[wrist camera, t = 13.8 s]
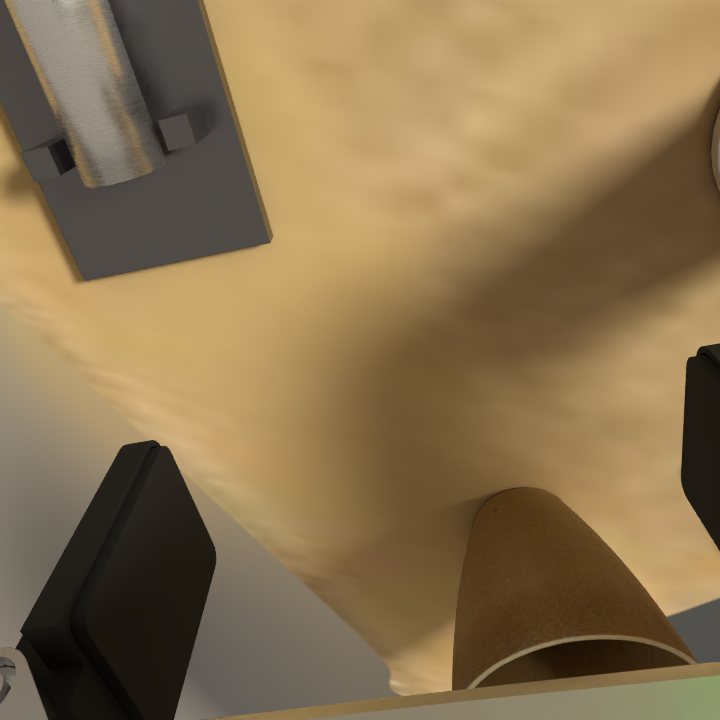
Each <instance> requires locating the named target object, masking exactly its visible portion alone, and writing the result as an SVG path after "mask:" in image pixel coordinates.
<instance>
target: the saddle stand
mask: <svg viewBox="0 0 720 720" xmlns="http://www.w3.org/2000/svg"><path fill="white" fill-rule="evenodd" d="M108 2H109V5H110V8H111V10H112V13H113V16H114V19H115V22H116V24H117V27H118V30H119V33H120V35H121V38H122V41H123V44H124V46H125V49H126V52H127V55H128V57H129V60H130V63H131V66H132V68H133V71H134V74H135V77H136V79H137V82H138V85H139V88H140V91H141V93H142V96H143V99H144V102H145V104H146V107H147V110H148V113H149V115H150V118H151V121H152V124H153V126H154V129H155V132H156V135H157V137H158V140H159V143H160V146H161V148H162V151H163V154H164V157H165V159H166V162H167V163H166V164H165V165H164V166H163V167H161V168H159V169H157V170H155V171H153V172H151V173H148V174H145V175H143V176H140V177H137V178H134V179H131V180H127V181H124V182H120V183H116V184H112V185H107V186H102V187H95V188H87V187H85V186H84V183H83V181H82V179H81V176H80V174H79V172H78V169H77V167H76V165H75V163H74V160H73V158H72V156H71V153H70V151H69V149H68V146H67V144H66V142H65V140H64V137H63V135H62V133H61V130H60V128H59V126H58V123H57V121H56V119H55V116H54V114H53V112H52V110H51V107H50V105H49V103H48V100H47V98H46V96H45V93H44V91H43V89H42V87H41V84H40V82H39V80H38V77H37V75H36V73H35V70H34V68H33V66H32V63H31V61H30V59H29V57H28V54H27V52H26V50H25V47H24V45H23V43H22V40H21V38H20V36H19V34H18V31H17V29H16V27H15V24H14V22H13V20H12V17H11V15H10V13H9V10H8V8H7V6H6V4H5V1H4V0H0V102H1V104H2V106H3V108H4V110H5V112H6V114H7V116H8V119H9V121H10V123H11V125H12V127H13V129H14V131H15V133H16V136H17V138H18V140H19V142H20V144H21V146H22V148H23V150H24V152H22V153H21V155H22V157H23V159H24V161H25V163H26V165H27V168H28V170H29V172H30V174H31V176H32V178H33V180H34V182H35V181H38V182H39V185H40V187H41V189H42V191H43V193H44V195H45V197H46V199H47V202H48V204H49V206H50V208H51V210H52V212H53V214H54V217H55V219H56V221H57V223H58V225H59V227H60V229H61V231H62V234H63V236H64V238H65V240H66V242H67V244H68V246H69V248H70V251H71V253H72V255H73V257H74V259H75V261H76V263H77V265H78V268H79V270H80V272H81V274H82V276H83V278H84V280H85V281H88V280H93V279H98V278H103V277H108V276H112V275H117V274H122V273H127V272H132V271H137V270H141V269H146V268H151V267H156V266H161V265H166V264H171V263H175V262H180V261H185V260H190V259H195V258H200V257H204V256H209V255H214V254H219V253H224V252H229V251H233V250H238V249H243V248H248V247H253V246H258V245H262V244H267V243H271V240H272V238H273V234H272V231H271V228H270V224H269V221H268V218H267V214H266V211H265V207H264V204H263V201H262V197H261V194H260V191H259V187H258V184H257V180H256V177H255V174H254V170H253V167H252V164H251V160H250V157H249V154H248V150H247V147H246V143H245V140H244V137H243V133H242V130H241V127H240V123H239V120H238V117H237V113H236V110H235V106H234V103H233V100H232V96H231V93H230V90H229V86H228V83H227V79H226V76H225V73H224V69H223V66H222V63H221V59H220V56H219V53H218V49H217V46H216V42H215V39H214V36H213V32H212V29H211V26H210V22H209V19H208V16H207V12H206V9H205V5H204V2H203V0H108Z"/></svg>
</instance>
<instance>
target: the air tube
mask: <svg viewBox="0 0 720 720" xmlns="http://www.w3.org/2000/svg"><path fill="white" fill-rule="evenodd" d="M4 1H5V4H6V6H7V8H8V10H9V13H10V15H11V17H12V20H13V22H14V24H15V27H16V29H17V31H18V34H19V36H20V38H21V40H22V43H23V45H24V47H25V50H26V52H27V54H28V57H29V59H30V61H31V63H32V66H33V68H34V70H35V73H36V75H37V77H38V80H39V82H40V84H41V87H42V89H43V91H44V93H45V96H46V98H47V100H48V103H49V105H50V107H51V110H52V112H53V114H54V116H55V119H56V121H57V123H58V126H59V128H60V130H61V133H62V135H63V137H64V140H65V142H66V144H67V146H68V149H69V151H70V153H71V156H72V158H73V160H74V163H75V165H76V167H77V169H78V172H79V174H80V176H81V179H82V181H83V183H84V186H85V187H87V188H95V187H102V186H107V185H112V184H116V183H120V182H124V181H127V180H131V179H134V178H137V177H140V176H143V175H145V174H148V173H151V172H153V171H155V170H157V169H159V168H161V167H163V166H164V165H165V164H166V163H167V162H166V159H165V157H164V154H163V151H162V148H161V146H160V143H159V140H158V137H157V135H156V132H155V129H154V126H153V124H152V121H151V118H150V115H149V113H148V110H147V107H146V104H145V102H144V99H143V96H142V93H141V91H140V88H139V85H138V82H137V79H136V77H135V74H134V71H133V68H132V66H131V63H130V60H129V57H128V55H127V52H126V49H125V46H124V44H123V41H122V38H121V35H120V33H119V30H118V27H117V24H116V22H115V19H114V16H113V13H112V10H111V8H110V5H109V2H108V0H4Z"/></svg>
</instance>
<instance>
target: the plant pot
mask: <svg viewBox="0 0 720 720" xmlns="http://www.w3.org/2000/svg"><path fill="white" fill-rule="evenodd" d="M694 664H699V663H698V662H697V660H696V659H695V657H694V656H693V655H692V653H691V652H690V650H689V649H688V648H687V646H686V645H685V643H684V642H683V640H682V639H681V637H680V636H679V634H678V633H677V632H676V630H675V629H674V627H673V626H672V625H671V623H670V622H669V620H668V619H667V618H666V616H665V615H664V613H663V612H662V611H661V609H660V608H659V606H658V605H657V604H656V602H655V601H654V600H653V598H652V597H651V596H650V595H649V593H648V592H647V591H646V589H645V588H644V587H643V586H642V584H641V583H640V582H639V581H638V579H637V578H636V577H635V576H634V574H633V573H632V572H631V571H630V570H629V569H628V567H627V566H626V565H625V564H624V563H623V562H622V560H621V559H620V558H619V557H618V556H617V555H616V554H615V553H614V551H613V550H612V549H611V548H610V547H609V546H608V545H607V544H606V543H605V542H604V541H603V540H602V539H601V538H600V537H599V535H598V534H597V533H596V532H595V531H594V530H593V529H592V528H591V527H590V526H588V525H587V524H586V523H585V522H584V521H583V520H582V519H581V518H580V517H579V516H578V515H577V514H576V513H575V512H573V511H572V510H571V509H570V508H569V507H568V506H567V505H566V504H564V503H563V502H562V501H561V500H560V499H559V498H557V497H556V496H555V495H553V494H551V493H549V492H547V491H545V490H542V489H537V488H516V489H511V490H507V491H504V492H502V493H500V494H497V495H496V496H494V497H492V498H491V499H490V500H488V501H487V502H486V503H485V504H484V505H483V506H482V507H481V509H480V510H479V511H478V513H477V515H476V518H475V521H474V524H473V528H472V531H471V535H470V538H469V542H468V546H467V550H466V555H465V559H464V564H463V569H462V575H461V581H460V588H459V595H458V603H457V611H456V622H455V634H454V648H453V671H452V691H454V690H463V689H472V688H481V687H490V686H499V685H508V684H517V683H526V682H535V681H544V680H554V679H563V678H572V677H582V676H591V675H600V674H610V673H619V672H628V671H638V670H647V669H656V668H666V667H675V666H684V665H694Z"/></svg>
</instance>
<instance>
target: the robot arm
mask: <svg viewBox="0 0 720 720" xmlns="http://www.w3.org/2000/svg"><path fill="white" fill-rule="evenodd" d="M711 156H712V167H713V174H714V177H715V180H716V183H717V186H718V189H719V191H720V110H719V113H718V116H717V120H716V123H715V127H714V130H713V139H712V148H711ZM681 482H682V487H683V490H684V493H685V495H686V497H687V499H688V501H689V502H690V504H691V506H692V507H693V509H694V510H695V512H696V514H697V515H698V517H699V518H700V520H701V522H702V523H703V525H704V526H705V528H706V530H707V531H708V533H709V535H710V536H711V538H712V539H713V541H714V543H715V544H716V546H717V547H718V549H719V551H720V343H719V344H714V345H708V346H702V347H700V348H699V349H698V351H697V355H696V356H694V357H690V358H688V361H687V365H686V385H685V405H684V425H683V445H682V465H681ZM215 566H216V551H215V547H214V544H213V542H212V540H211V538H210V535H209V533H208V531H207V529H206V527H205V525H204V522H203V520H202V518H201V516H200V514H199V512H198V510H197V507H196V505H195V503H194V501H193V499H192V496H191V494H190V492H189V490H188V488H187V486H186V483H185V481H184V479H183V477H182V475H181V473H180V471H179V468H178V466H177V464H176V462H175V460H174V458H173V455H172V453H171V451H170V450H169V448H168V447H167V446H160V444H159V443H158V442H157V441H154V440H150V441H144V442H138V443H133V444H127V445H124V446H122V448H121V449H120V450H119V452H118V454H117V456H116V458H115V459H114V461H113V463H112V465H111V467H110V469H109V470H108V472H107V474H106V476H105V478H104V479H103V481H102V483H101V485H100V487H99V489H98V491H97V492H96V494H95V496H94V498H93V499H92V501H91V503H90V505H89V507H88V508H87V510H86V512H85V514H84V516H83V518H82V519H81V521H80V523H79V525H78V527H77V528H76V530H75V532H74V534H73V536H72V538H71V539H70V541H69V543H68V545H67V547H66V549H65V550H64V552H63V554H62V556H61V558H60V559H59V561H58V563H57V565H56V567H55V569H54V570H53V572H52V574H51V576H50V578H49V579H48V581H47V583H46V585H45V587H44V588H43V590H42V592H41V594H40V596H39V598H38V599H37V601H36V603H35V605H34V607H33V608H32V610H31V612H30V614H29V616H28V618H27V619H26V621H25V623H24V625H23V627H22V629H21V631H20V632H21V633H22V634H23V636H22V637H21V639H20V641H19V643H18V645H17V647H16V648H15V649H14V648H11V647H7V648H0V720H174V717H175V713H176V709H177V705H178V702H179V698H180V695H181V691H182V687H183V684H184V680H185V676H186V673H187V669H188V665H189V661H190V658H191V654H192V650H193V647H194V643H195V639H196V635H197V632H198V628H199V625H200V621H201V617H202V614H203V610H204V606H205V602H206V599H207V595H208V591H209V588H210V584H211V581H212V577H213V573H214V569H215ZM204 720H720V662H715V663H704V664H694V665H684V666H675V667H666V668H656V669H647V670H638V671H628V672H619V673H610V674H600V675H591V676H582V677H572V678H563V679H554V680H544V681H535V682H526V683H517V684H508V685H499V686H490V687H481V688H472V689H463V690H454V691H445V692H436V693H428V694H419V695H410V696H401V697H393V698H384V699H375V700H367V701H358V702H348V703H340V704H332V705H323V706H315V707H306V708H297V709H289V710H280V711H272V712H264V713H255V714H247V715H239V716H230V717H221V718H213V719H204Z"/></svg>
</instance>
